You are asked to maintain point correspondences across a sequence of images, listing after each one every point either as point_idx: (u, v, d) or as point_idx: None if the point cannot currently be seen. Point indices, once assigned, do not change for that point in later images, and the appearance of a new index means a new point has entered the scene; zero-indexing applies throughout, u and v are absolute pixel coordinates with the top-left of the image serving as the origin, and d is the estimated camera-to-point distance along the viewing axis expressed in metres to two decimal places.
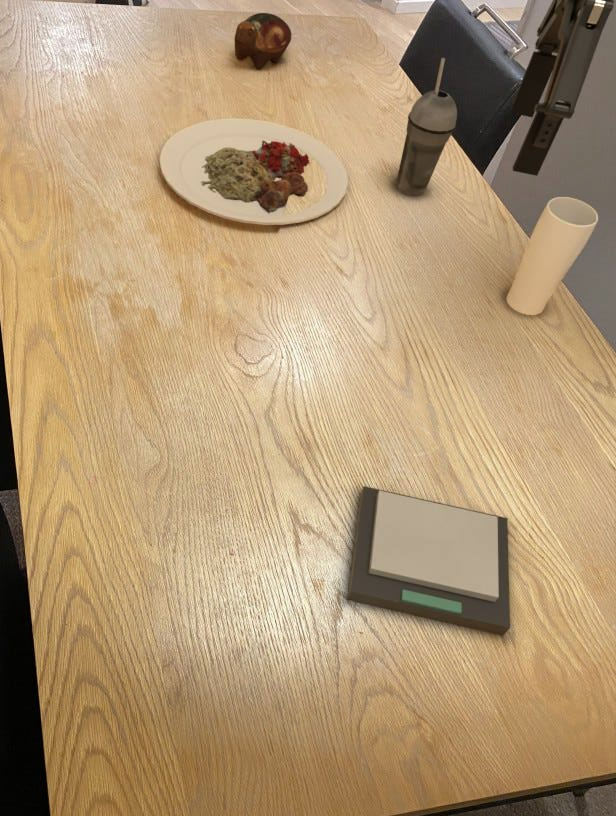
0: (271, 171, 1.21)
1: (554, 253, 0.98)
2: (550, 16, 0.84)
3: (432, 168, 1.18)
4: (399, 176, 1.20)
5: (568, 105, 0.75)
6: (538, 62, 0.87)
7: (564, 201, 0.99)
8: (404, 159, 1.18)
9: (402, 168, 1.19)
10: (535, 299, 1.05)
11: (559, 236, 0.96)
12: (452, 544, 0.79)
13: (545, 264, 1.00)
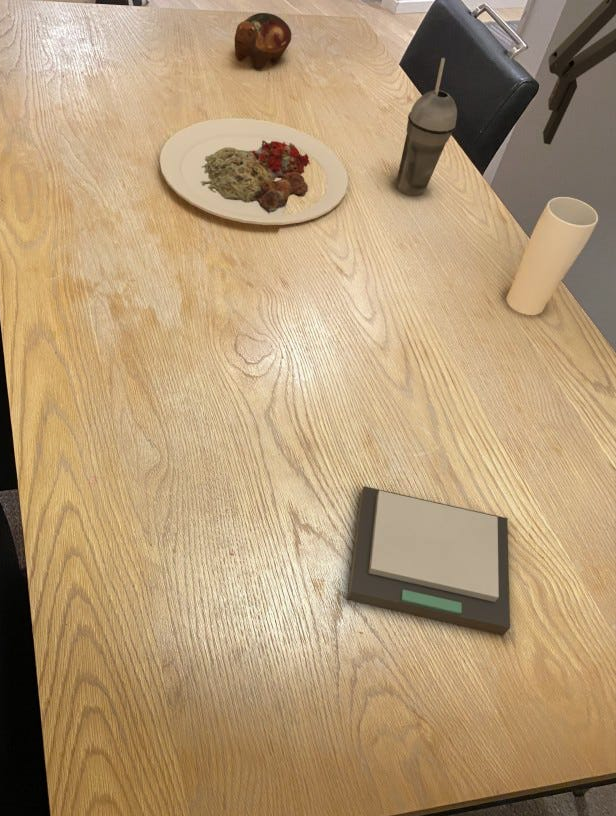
0: (271, 171, 1.21)
1: (554, 253, 0.98)
2: None
3: (432, 168, 1.18)
4: (399, 176, 1.20)
5: None
6: None
7: (564, 201, 0.99)
8: (404, 159, 1.18)
9: (402, 168, 1.19)
10: (535, 299, 1.05)
11: (559, 236, 0.96)
12: (452, 544, 0.79)
13: (545, 264, 1.00)
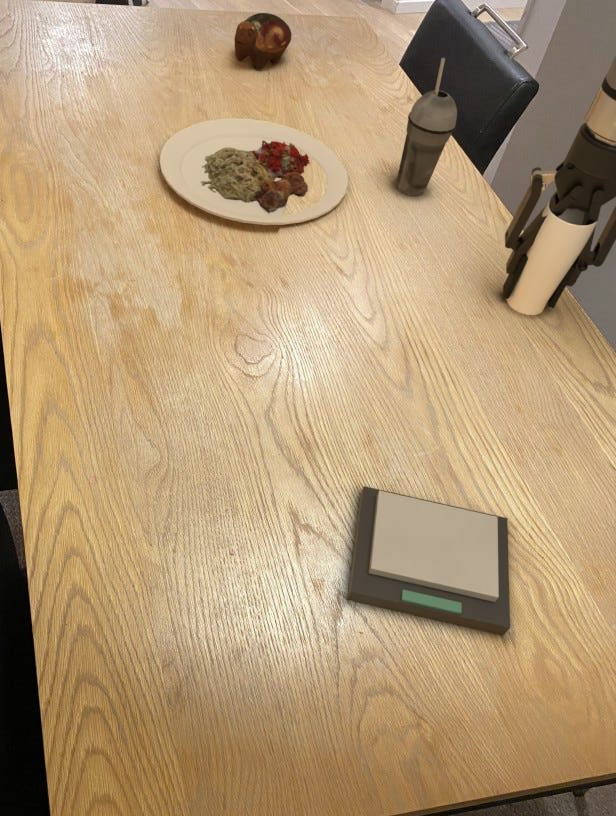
0: (271, 171, 1.21)
1: (554, 253, 0.98)
2: None
3: (432, 168, 1.18)
4: (399, 176, 1.20)
5: None
6: None
7: None
8: (404, 159, 1.18)
9: (402, 168, 1.19)
10: (535, 299, 1.05)
11: (559, 236, 0.96)
12: (452, 544, 0.79)
13: (545, 264, 1.00)
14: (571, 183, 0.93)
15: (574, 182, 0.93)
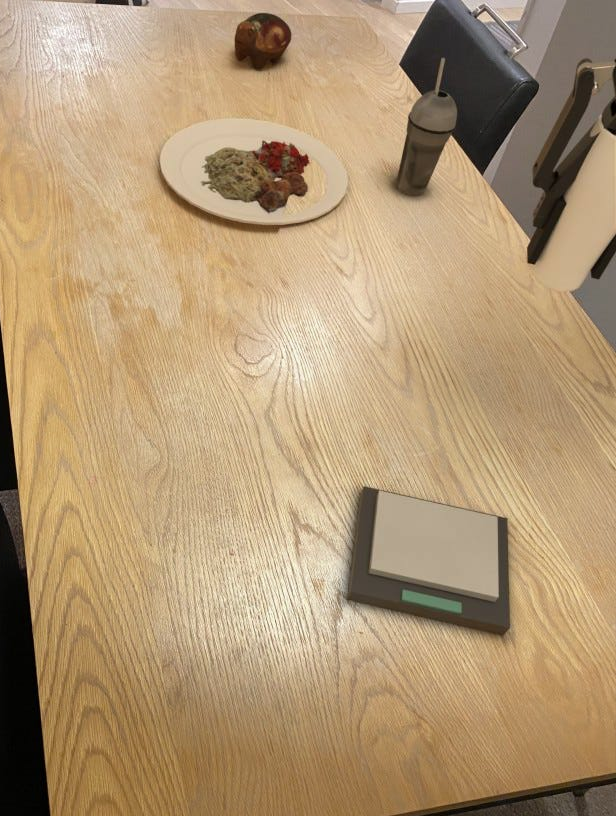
0: (271, 171, 1.21)
1: (607, 192, 0.66)
2: None
3: (432, 168, 1.18)
4: (399, 176, 1.20)
5: None
6: None
7: None
8: (404, 159, 1.18)
9: (402, 168, 1.19)
10: (574, 264, 0.72)
11: None
12: (452, 544, 0.79)
13: (592, 210, 0.68)
14: None
15: None
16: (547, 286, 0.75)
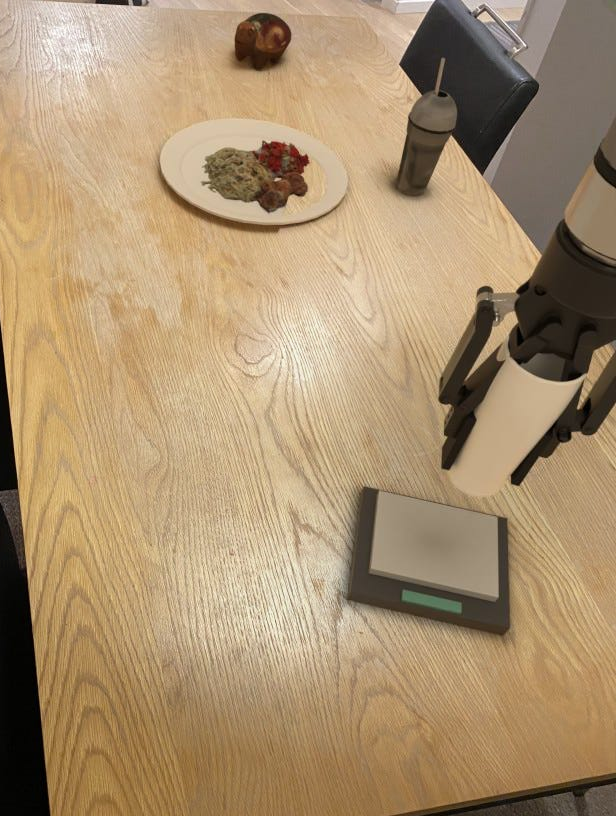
0: (271, 171, 1.21)
1: (517, 419, 0.60)
2: None
3: (432, 168, 1.18)
4: (399, 176, 1.20)
5: (591, 410, 0.62)
6: None
7: None
8: (404, 159, 1.18)
9: (402, 168, 1.19)
10: (490, 476, 0.66)
11: (525, 395, 0.58)
12: (452, 544, 0.79)
13: (503, 433, 0.61)
14: (542, 316, 0.54)
15: (547, 315, 0.54)
16: (464, 492, 0.69)
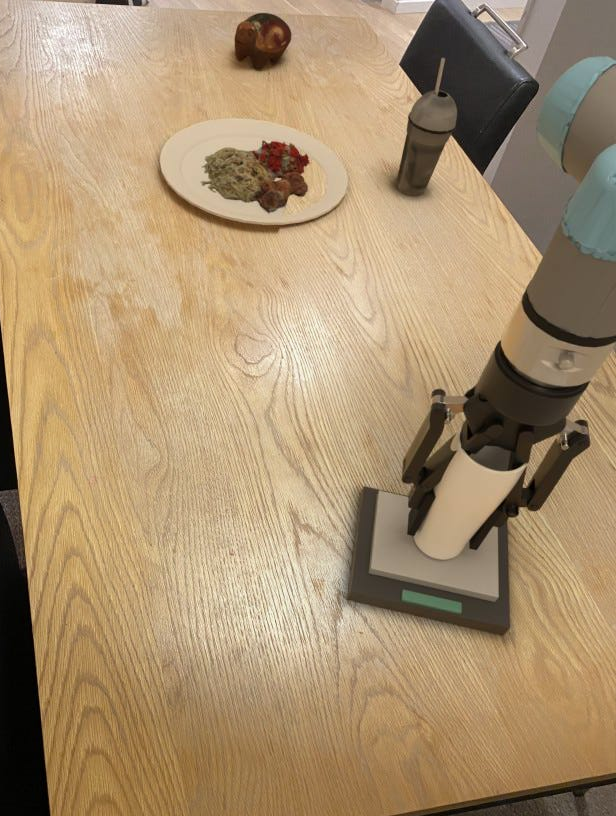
0: (271, 171, 1.21)
1: (469, 499, 0.68)
2: None
3: (432, 168, 1.18)
4: (399, 176, 1.20)
5: None
6: None
7: None
8: (404, 159, 1.18)
9: (402, 168, 1.19)
10: (449, 543, 0.74)
11: (474, 481, 0.66)
12: None
13: (458, 509, 0.70)
14: (487, 418, 0.63)
15: (491, 417, 0.63)
16: (428, 555, 0.77)
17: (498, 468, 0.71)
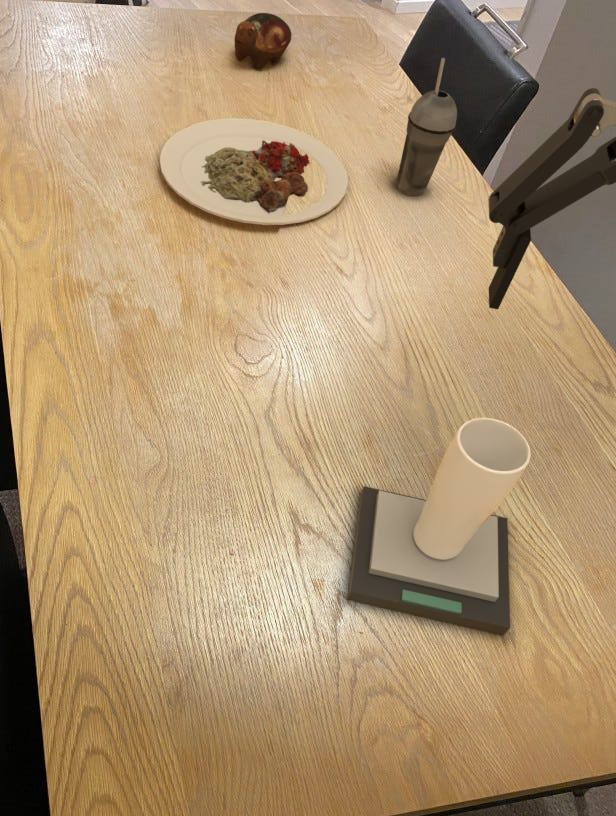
0: (271, 171, 1.21)
1: (469, 499, 0.68)
2: None
3: (432, 168, 1.18)
4: (399, 176, 1.20)
5: None
6: None
7: (483, 422, 0.69)
8: (404, 159, 1.18)
9: (402, 168, 1.19)
10: (449, 543, 0.74)
11: (474, 481, 0.66)
12: None
13: (458, 509, 0.70)
14: None
15: None
16: (428, 555, 0.77)
17: (498, 468, 0.71)
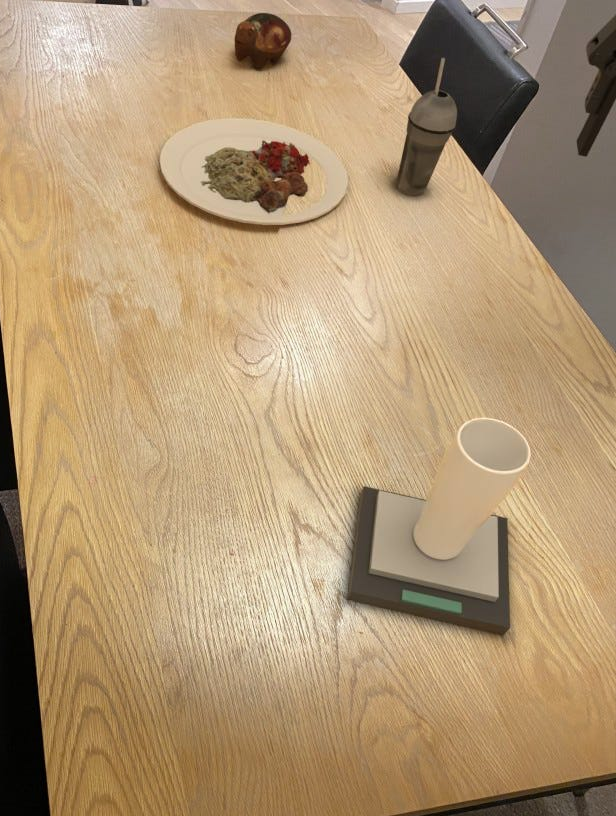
0: (271, 171, 1.21)
1: (469, 499, 0.68)
2: None
3: (432, 168, 1.18)
4: (399, 176, 1.20)
5: None
6: None
7: (484, 422, 0.69)
8: (404, 159, 1.18)
9: (402, 168, 1.19)
10: (449, 543, 0.74)
11: (474, 481, 0.66)
12: None
13: (458, 509, 0.70)
14: None
15: None
16: (428, 555, 0.77)
17: (498, 468, 0.71)
